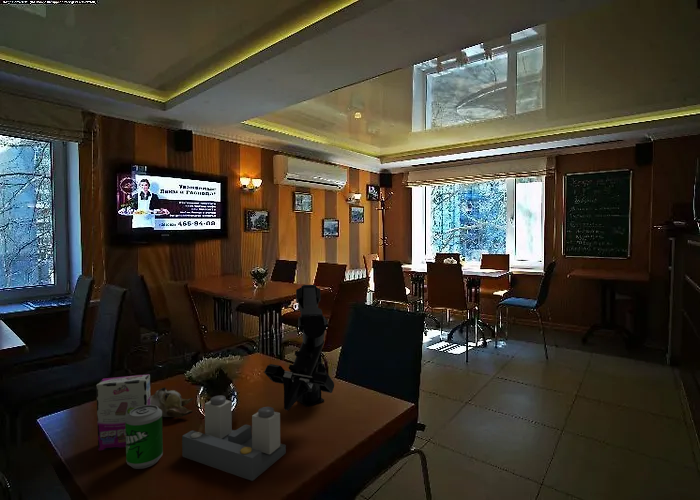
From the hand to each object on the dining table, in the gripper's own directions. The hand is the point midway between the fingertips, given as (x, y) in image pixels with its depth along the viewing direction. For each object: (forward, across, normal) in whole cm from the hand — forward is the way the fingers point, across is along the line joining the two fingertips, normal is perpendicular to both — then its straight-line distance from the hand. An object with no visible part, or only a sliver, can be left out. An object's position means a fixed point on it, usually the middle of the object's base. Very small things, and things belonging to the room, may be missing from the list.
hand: (286, 409), depth 98 cm
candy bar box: (+18, +37, +6) cm, 42 cm away
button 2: (+9, +1, 0) cm, 9 cm away
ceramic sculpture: (+8, +41, -5) cm, 42 cm away
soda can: (+20, +25, +8) cm, 34 cm away
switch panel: (+13, +8, 0) cm, 15 cm away
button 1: (+9, +16, 0) cm, 18 cm away
